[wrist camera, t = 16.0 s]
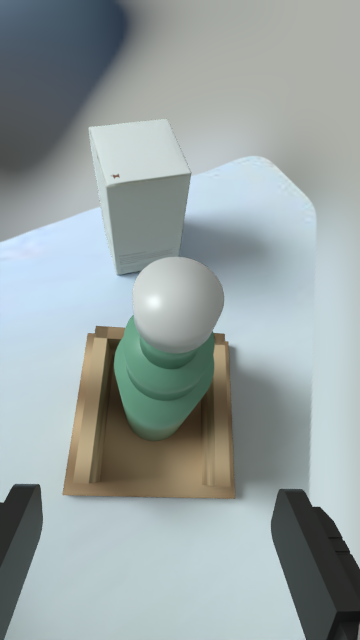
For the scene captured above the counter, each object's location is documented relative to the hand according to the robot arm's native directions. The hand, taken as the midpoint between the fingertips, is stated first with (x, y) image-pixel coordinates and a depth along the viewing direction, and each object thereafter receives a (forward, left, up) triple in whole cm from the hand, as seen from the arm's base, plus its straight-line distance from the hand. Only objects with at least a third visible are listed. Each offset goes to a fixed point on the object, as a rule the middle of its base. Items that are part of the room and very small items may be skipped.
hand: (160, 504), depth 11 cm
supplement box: (-19, +17, -19) cm, 32 cm away
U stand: (-4, +5, -19) cm, 20 cm away
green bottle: (-4, +5, -18) cm, 19 cm away
